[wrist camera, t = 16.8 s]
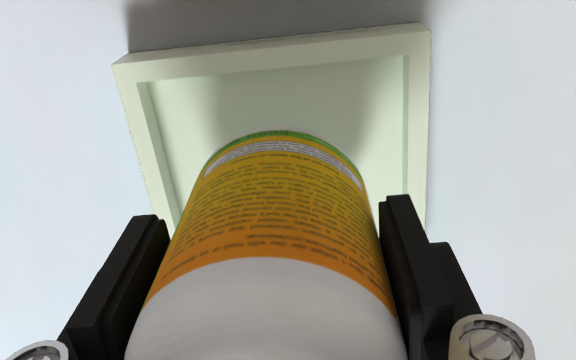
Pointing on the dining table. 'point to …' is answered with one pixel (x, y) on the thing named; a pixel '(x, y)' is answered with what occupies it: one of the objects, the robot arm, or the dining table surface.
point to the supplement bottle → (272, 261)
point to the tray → (283, 105)
